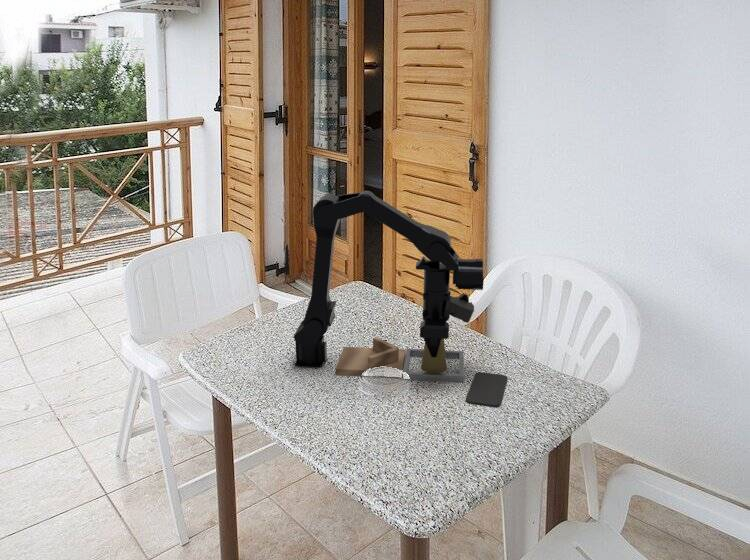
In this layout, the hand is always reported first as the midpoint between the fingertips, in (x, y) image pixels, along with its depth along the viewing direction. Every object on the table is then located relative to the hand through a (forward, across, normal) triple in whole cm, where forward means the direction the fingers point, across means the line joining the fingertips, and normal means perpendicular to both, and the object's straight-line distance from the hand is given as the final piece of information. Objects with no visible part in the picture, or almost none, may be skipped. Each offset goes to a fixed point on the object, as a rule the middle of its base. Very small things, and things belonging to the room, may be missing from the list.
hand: (434, 351), depth 165 cm
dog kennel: (+4, 0, +16) cm, 16 cm away
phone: (+5, -10, -12) cm, 16 cm away
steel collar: (+4, 0, 0) cm, 4 cm away
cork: (+4, 0, 0) cm, 4 cm away
